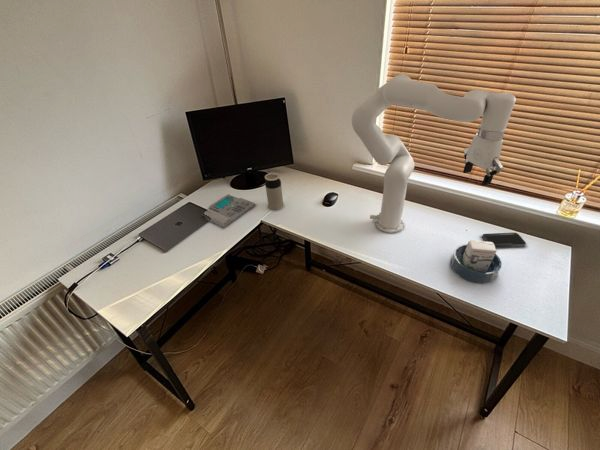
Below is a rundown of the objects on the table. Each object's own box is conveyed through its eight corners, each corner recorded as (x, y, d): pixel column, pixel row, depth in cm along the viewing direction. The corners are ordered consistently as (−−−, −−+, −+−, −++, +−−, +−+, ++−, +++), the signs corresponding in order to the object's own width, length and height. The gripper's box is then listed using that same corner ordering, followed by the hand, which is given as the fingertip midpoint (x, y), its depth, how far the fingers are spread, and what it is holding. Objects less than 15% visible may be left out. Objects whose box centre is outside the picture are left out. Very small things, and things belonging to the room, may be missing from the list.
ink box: (462, 270, 118) (471, 248, 111) (460, 261, 122) (468, 239, 115) (486, 273, 116) (497, 250, 109) (483, 263, 120) (493, 241, 113)
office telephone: (223, 224, 147) (196, 212, 156) (224, 229, 148) (197, 216, 158) (255, 201, 161) (228, 190, 170) (255, 205, 163) (229, 194, 172)
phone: (481, 233, 133) (516, 232, 132) (481, 235, 133) (515, 234, 133) (490, 246, 127) (527, 244, 126) (489, 248, 127) (526, 246, 127)
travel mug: (283, 210, 158) (279, 179, 146) (267, 210, 158) (263, 180, 147) (283, 201, 164) (280, 171, 153) (269, 202, 164) (264, 172, 153)
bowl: (454, 281, 115) (458, 271, 111) (447, 252, 127) (450, 242, 124) (502, 286, 112) (507, 276, 108) (489, 255, 124) (494, 245, 121)
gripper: (463, 126, 108) (451, 169, 118) (501, 144, 94) (485, 191, 105) (481, 123, 109) (468, 166, 119) (521, 140, 96) (503, 187, 106)
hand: (476, 178), depth 112 cm, fingers open, 9 cm apart
